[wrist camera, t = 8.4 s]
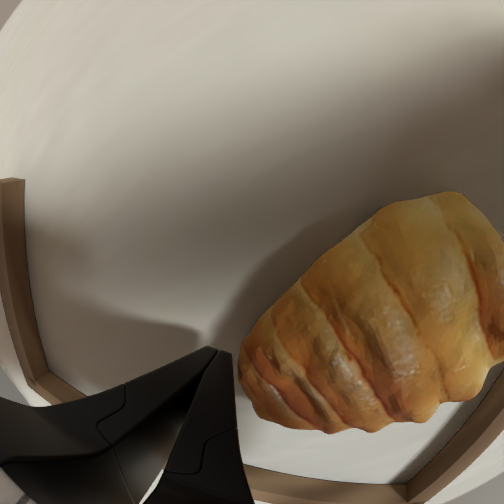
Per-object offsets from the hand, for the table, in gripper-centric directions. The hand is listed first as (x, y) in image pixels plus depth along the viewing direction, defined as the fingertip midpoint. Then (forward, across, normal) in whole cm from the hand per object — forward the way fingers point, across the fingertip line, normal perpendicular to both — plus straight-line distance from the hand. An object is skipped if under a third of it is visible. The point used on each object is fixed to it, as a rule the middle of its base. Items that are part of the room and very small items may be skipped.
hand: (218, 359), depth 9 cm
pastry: (+2, -5, -2) cm, 6 cm away
